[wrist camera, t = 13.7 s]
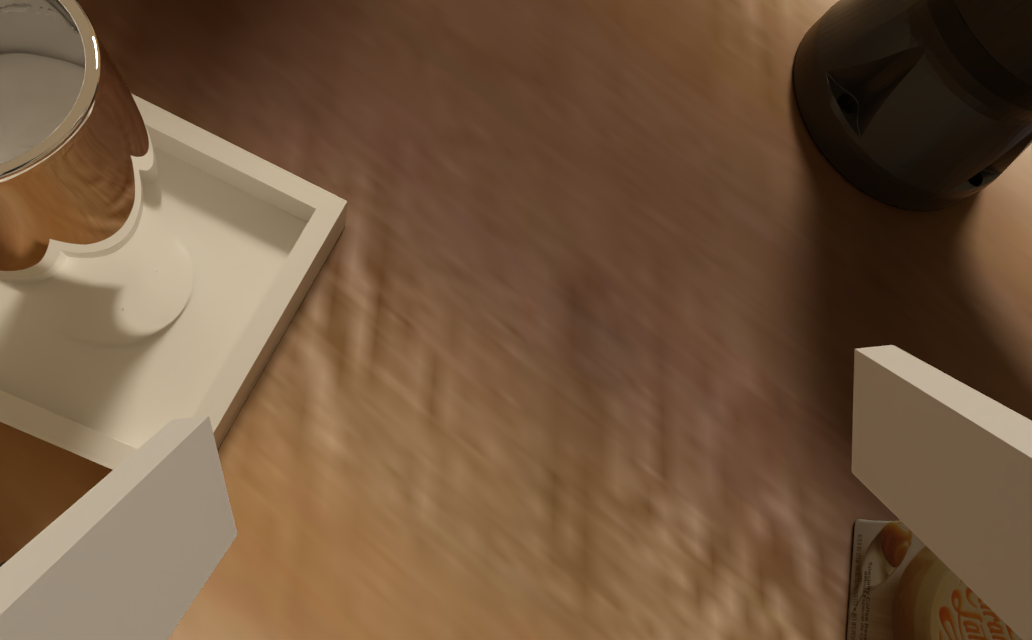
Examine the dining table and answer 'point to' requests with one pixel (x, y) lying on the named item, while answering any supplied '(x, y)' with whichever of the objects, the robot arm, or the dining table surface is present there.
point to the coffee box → (911, 591)
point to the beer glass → (81, 184)
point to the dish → (204, 320)
